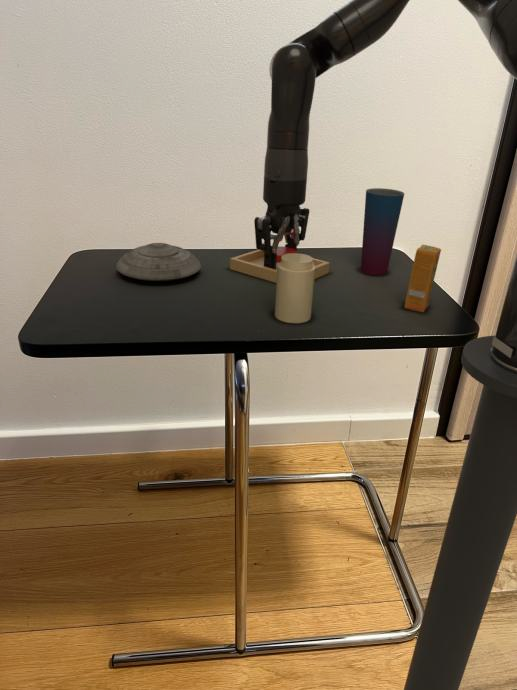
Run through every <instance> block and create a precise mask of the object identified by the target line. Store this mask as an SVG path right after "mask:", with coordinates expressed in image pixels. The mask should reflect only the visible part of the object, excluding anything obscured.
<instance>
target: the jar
mask: <svg viewBox="0 0 517 690" xmlns="http://www.w3.org/2000/svg"><path fill="white" fill-rule="evenodd" d="M313 258H314V257H312V256H311V255H308V254H305V253H298V252H297V253H290V254H285V255H283V256H281V262H280V263H278V266H277V282H276V283H275V284H276V285H275V302H274V317H275V319H276V320H278V321H280V322H283V323H288V324H303V323H306V322H309V321H310V320H311V319H312V311H313V301H314V290H315V282H316V281H315V280H316V279H315V270H316V267H315V265H314V264H313V263H314V262H313Z"/></svg>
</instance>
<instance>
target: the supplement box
mask: <svg viewBox="0 0 517 690" xmlns="http://www.w3.org/2000/svg"><path fill="white" fill-rule="evenodd" d="M441 252H442V249H441V248H440V247H437V246H434V245H433V246H431V245H427V244H421V246H420V247H417V249H416V251H415V255H414V260H413V265H412V268H411V273H410V278H409V281H408V287H407V292H406V297H405V302H404V309H406V310H410V311H414V312H418V313H425V311H426V310H427V308H428V307H429V304H430V303H429V302H430V299H431V294H432V290H433V285H434V282H435V277H436V273H437V269H438V264H439V260H440V256H441Z"/></svg>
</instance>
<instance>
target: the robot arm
mask: <svg viewBox="0 0 517 690" xmlns="http://www.w3.org/2000/svg"><path fill="white" fill-rule="evenodd" d="M457 1H458V3H460V4H461V6H463V7H464V8H465V10H467V11H468V12H469V14H471V15H472V17H473V18H474V19H475V21H476V22H477V24H478V27H479V29H480V31H481V32H482V34H483V35H484V37H485V38H486V40H487V42H488V44H489V46H490V48H491V50H492V51H493V53H494V54H495V56H496V57H497V59H498V61H499V62H500V64H501V65H502V67H503V68H504V70H505V71H507V72H508V74H510V76H512V77H513V78H514V79H515V80H517V0H457ZM409 2H410V0H350V1H348V2H347V3H345V4H344V5H342V6H341V7H340V8H338V9H337V10H335V11H333V12H331V14H329V15H328V16H327V17H325V18H324V19H323V20H322V21H321V22H320V23H319V24H317V25H316V26H314V27H313V28H311V29H309V30H308V31H306V32H305V33H302V34H301V35H300V36H298V37H296V38H294V39H293V40H291V41H290V42H288V43H286V44H285V45H283V46H281V47H280V48H279V49H278V50H276V51H275V52H274V54H273V55H272V56H271V59H270V62H269V68H268V72H269V77H270V80H271V91H270V92H271V94H270V112H269V113H270V114H269V116H268V121H267V131H266V132H267V135H266V151H265V155H264V170H263V189H262V191H263V192H262V200H263V202H264V203H265V204H266V206H267V208H266V212H265V215H264V216H262V217H259V216H255V218H254V221H253V223H254V234H255V249H256V250H262V251H264V267H268V268H271V269H275V270H276V261H277V253H276V251H277V248H278V246H280V243H281V242H282V241H283V240H284V241H285V244H284V247H289V248H293V249H295V250H296V251H298V246H299V245H300V242H301V241H304V240H305V239H306V234H307V229H308V223H309V217H310V209H309V208H307V207H302V205H304V204H305V202H306V197H307V186H308V185H307V184H308V183H307V182H308V170H309V139H310V138H309V137H310V117H311V116H310V115H311V110H312V105H313V101H314V100H313V99H314V94H315V87H316V79H317V78H318V77H320V76H322V75H323V74H324V73H326V72H328V71H329V70H330V69H331V68H333V67H335V66H337V65H340V64H343V63H345V62H347V61H348V60H350V59H352V58H354V57H355V56H357V55H358V54H360V53H361V52H363V51H365V50H366V49H368V48H369V47H370V46H372V45H373V44H375V43H377V42H378V41H379V40H381V39H382V37H384V36H385V35H386V34H387V33H388V32H389V30H390V29H391V28H392V27H393V25H394V24H395V23H396V22H397V20H398V19H399V17H400V16H401V14H402V13H403V11H404V9H405V8H406V7H407V5H408V4H409ZM272 233H273V234H272ZM272 241H273V242H272ZM296 253H298V252H296ZM507 285H508V286H507V289H506V293H505V297H504V301H503V305H502V309H501V312H500V316H499V320H498V324H497V328H496V332H495V335H494V336H495V337H494V338H493V341H492V345H493V346H492V348H491V351H490V357H491V359H492V360H493V361H494V362H495V363H496V364H498V365H499V366H501V367H502V368H504V369H506V370H509V371H511V372H513V373H516V374H517V254H516V256H515V259H514V262H513V266H512V269H511V274H510V278H509V281H508V284H507Z"/></svg>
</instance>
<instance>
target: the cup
mask: <svg viewBox="0 0 517 690" xmlns="http://www.w3.org/2000/svg"><path fill="white" fill-rule="evenodd" d="M404 197H405V192H403V191H402V190H398V189H392V188H382V187H381V188H380V187H379V188H378V187H377V188H376V187H374V188H373V187H372V188H367V189H366V190H365V200H364V201H365V202H364V217H363V228H362V229H363V230H362V232H363V233H362V246H361V258H360V271H361V272H362V273H363V274H365V275H370V276H385V275H387V274H388V271H389V265H390V261H391V256H392V253H393V247H394V244H395V243H394V242H395V239H396V233H397V229H398V225H399V220H400V215H401V212H402V206H403V202H404Z"/></svg>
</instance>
